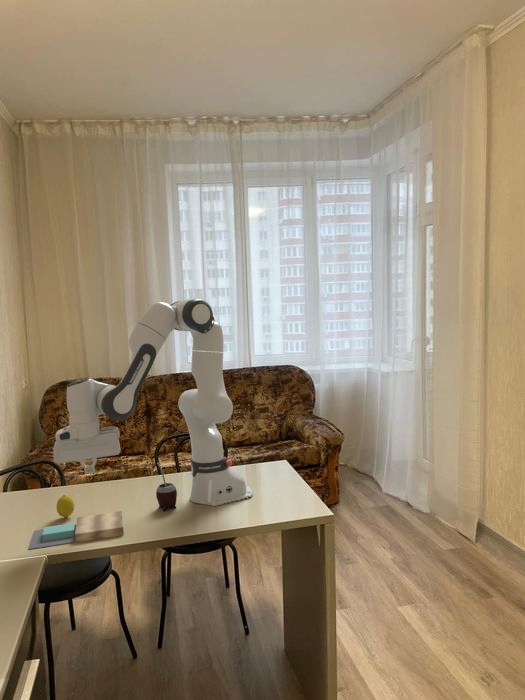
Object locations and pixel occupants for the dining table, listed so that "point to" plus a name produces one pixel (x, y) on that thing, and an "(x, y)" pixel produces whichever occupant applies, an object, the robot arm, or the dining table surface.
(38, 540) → the mat
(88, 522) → the deck
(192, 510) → the dining table surface
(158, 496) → the mate gourd
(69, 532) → the turquoise sponge
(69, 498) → the lemon
